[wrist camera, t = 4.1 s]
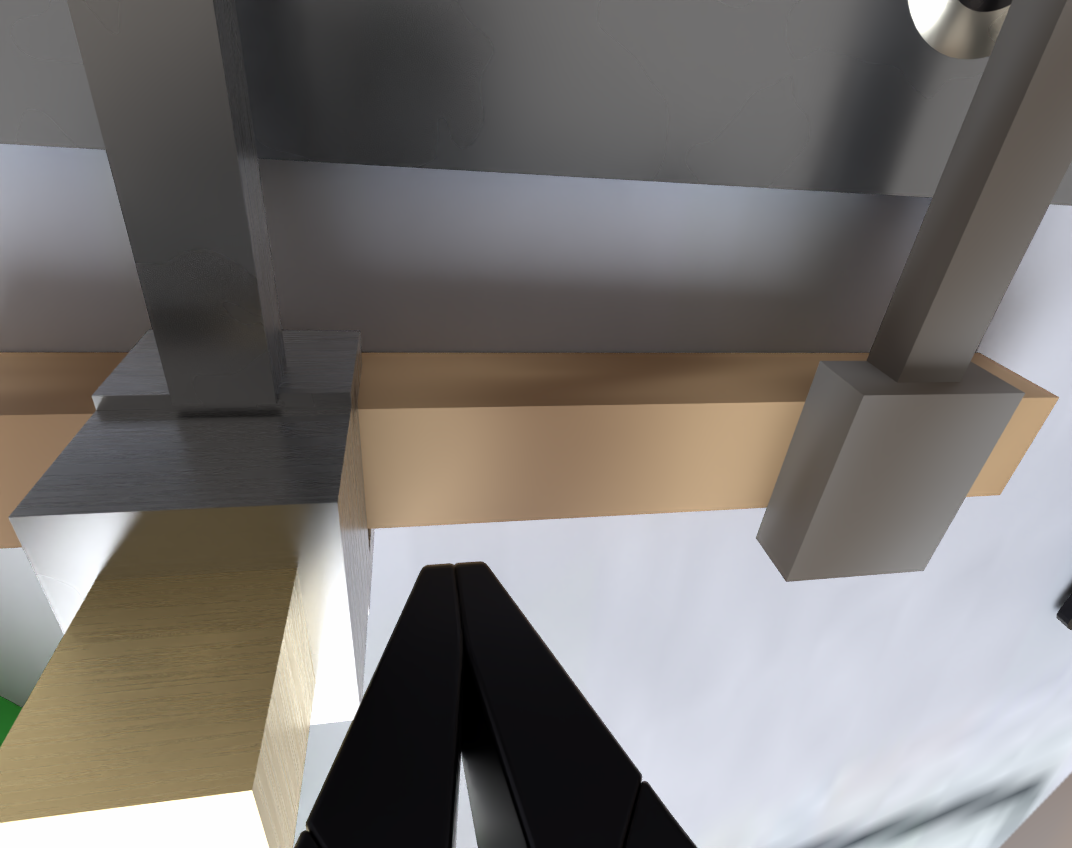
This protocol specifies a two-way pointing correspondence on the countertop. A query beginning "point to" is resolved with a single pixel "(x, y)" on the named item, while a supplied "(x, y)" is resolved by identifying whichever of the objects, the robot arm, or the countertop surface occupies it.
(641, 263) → the countertop surface
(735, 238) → the countertop surface
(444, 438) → the beam
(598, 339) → the countertop surface
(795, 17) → the bolt plate
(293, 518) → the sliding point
